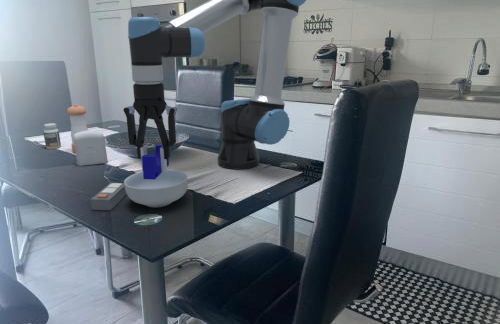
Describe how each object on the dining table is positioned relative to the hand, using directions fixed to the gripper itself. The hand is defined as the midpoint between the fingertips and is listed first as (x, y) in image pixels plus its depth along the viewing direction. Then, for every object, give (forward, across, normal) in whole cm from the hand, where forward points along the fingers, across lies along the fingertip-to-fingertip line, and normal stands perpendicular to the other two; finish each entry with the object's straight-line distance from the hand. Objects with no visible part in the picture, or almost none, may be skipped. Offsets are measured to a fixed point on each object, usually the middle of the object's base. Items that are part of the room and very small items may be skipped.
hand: (154, 169), depth 103 cm
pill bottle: (+9, +61, -53) cm, 81 cm away
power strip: (+9, +13, -1) cm, 16 cm away
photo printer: (+9, +34, -32) cm, 48 cm away
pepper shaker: (+9, +46, -48) cm, 67 cm away
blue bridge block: (0, 0, 0) cm, 1 cm away
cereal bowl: (+9, 0, 0) cm, 9 cm away
